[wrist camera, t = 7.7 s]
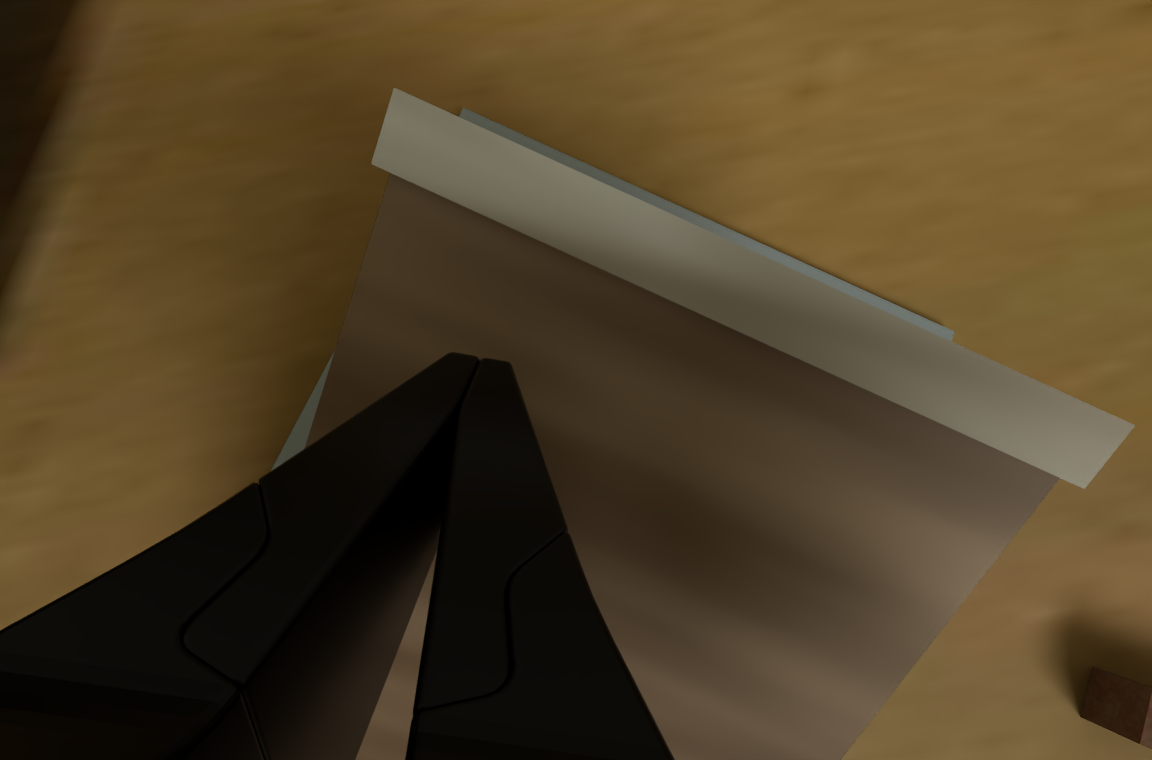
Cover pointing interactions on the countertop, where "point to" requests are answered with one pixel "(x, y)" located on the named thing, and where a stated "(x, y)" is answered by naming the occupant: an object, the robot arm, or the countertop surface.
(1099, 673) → the miniature gate
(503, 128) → the card
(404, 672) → the fence panel
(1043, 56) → the countertop surface
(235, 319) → the countertop surface
